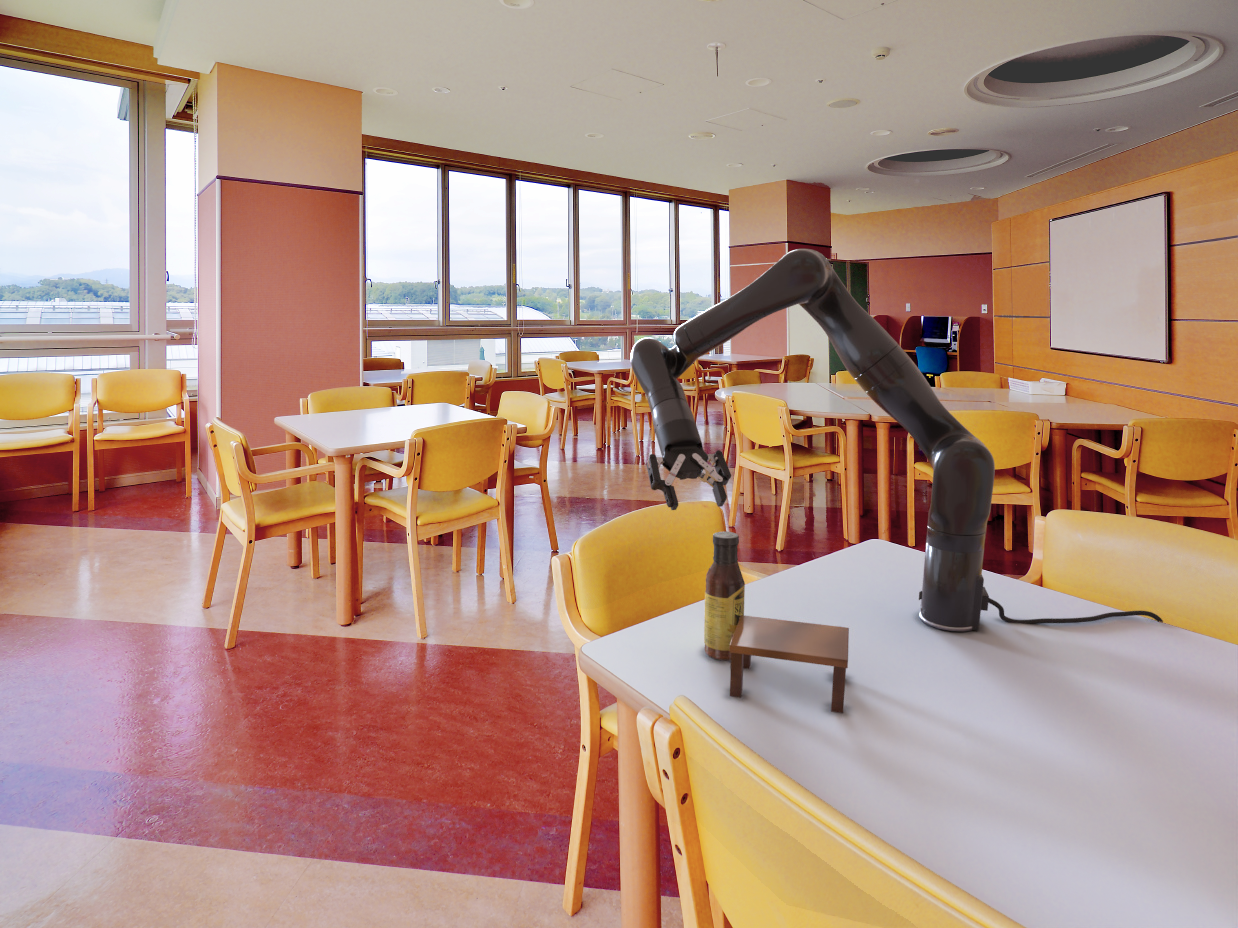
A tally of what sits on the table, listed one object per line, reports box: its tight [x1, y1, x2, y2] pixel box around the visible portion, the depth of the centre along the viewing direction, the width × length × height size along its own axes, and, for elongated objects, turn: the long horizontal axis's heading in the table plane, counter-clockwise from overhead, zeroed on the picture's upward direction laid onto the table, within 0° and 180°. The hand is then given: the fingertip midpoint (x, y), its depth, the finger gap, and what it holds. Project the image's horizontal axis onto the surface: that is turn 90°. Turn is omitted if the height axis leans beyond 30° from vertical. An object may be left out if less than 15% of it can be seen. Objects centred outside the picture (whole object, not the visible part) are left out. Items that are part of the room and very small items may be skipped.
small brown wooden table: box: [729, 614, 850, 714], centre depth 107 cm, size 16×11×8 cm
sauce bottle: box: [703, 531, 746, 661], centre depth 116 cm, size 6×6×20 cm
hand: (698, 506), depth 124 cm, fingers open, 8 cm apart
